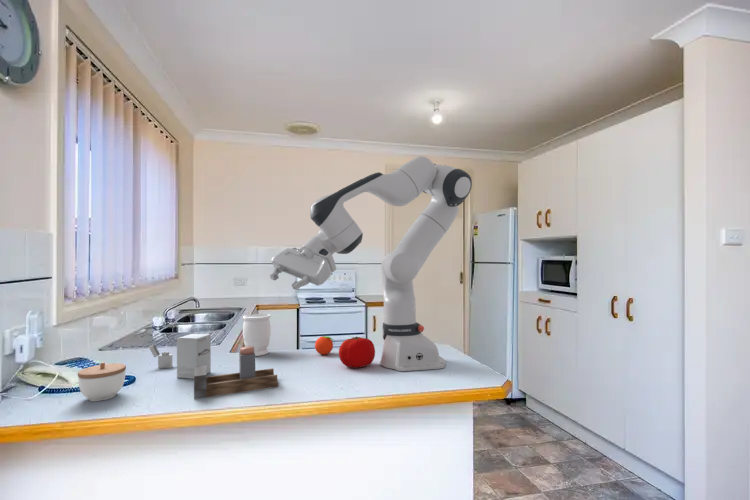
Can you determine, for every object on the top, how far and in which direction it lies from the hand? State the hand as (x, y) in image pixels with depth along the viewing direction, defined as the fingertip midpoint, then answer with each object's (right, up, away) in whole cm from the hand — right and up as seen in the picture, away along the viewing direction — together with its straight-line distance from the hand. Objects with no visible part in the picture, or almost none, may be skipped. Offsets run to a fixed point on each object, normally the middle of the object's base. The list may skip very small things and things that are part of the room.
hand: (282, 283), depth 113 cm
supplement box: (-31, -31, +11) cm, 45 cm away
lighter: (-47, -31, +21) cm, 60 cm away
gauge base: (-13, -30, -1) cm, 33 cm away
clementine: (+8, -31, +35) cm, 47 cm away
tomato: (+21, -30, +19) cm, 41 cm away
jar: (-19, -31, +37) cm, 52 cm away
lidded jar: (-47, -31, -7) cm, 57 cm away
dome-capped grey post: (-10, -28, 0) cm, 30 cm away
